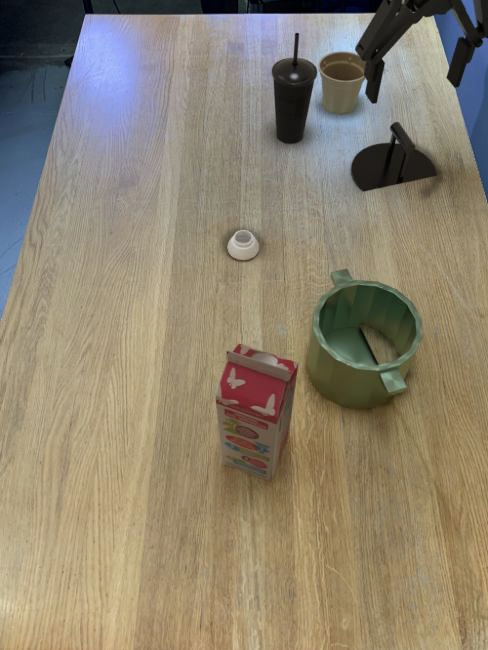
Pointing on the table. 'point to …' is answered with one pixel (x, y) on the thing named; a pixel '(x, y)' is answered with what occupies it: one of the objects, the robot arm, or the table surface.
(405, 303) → the pot
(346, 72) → the flower pot
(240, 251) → the white jar
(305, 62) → the drinking cup
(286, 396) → the juice carton
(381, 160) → the lid
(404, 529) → the table surface
